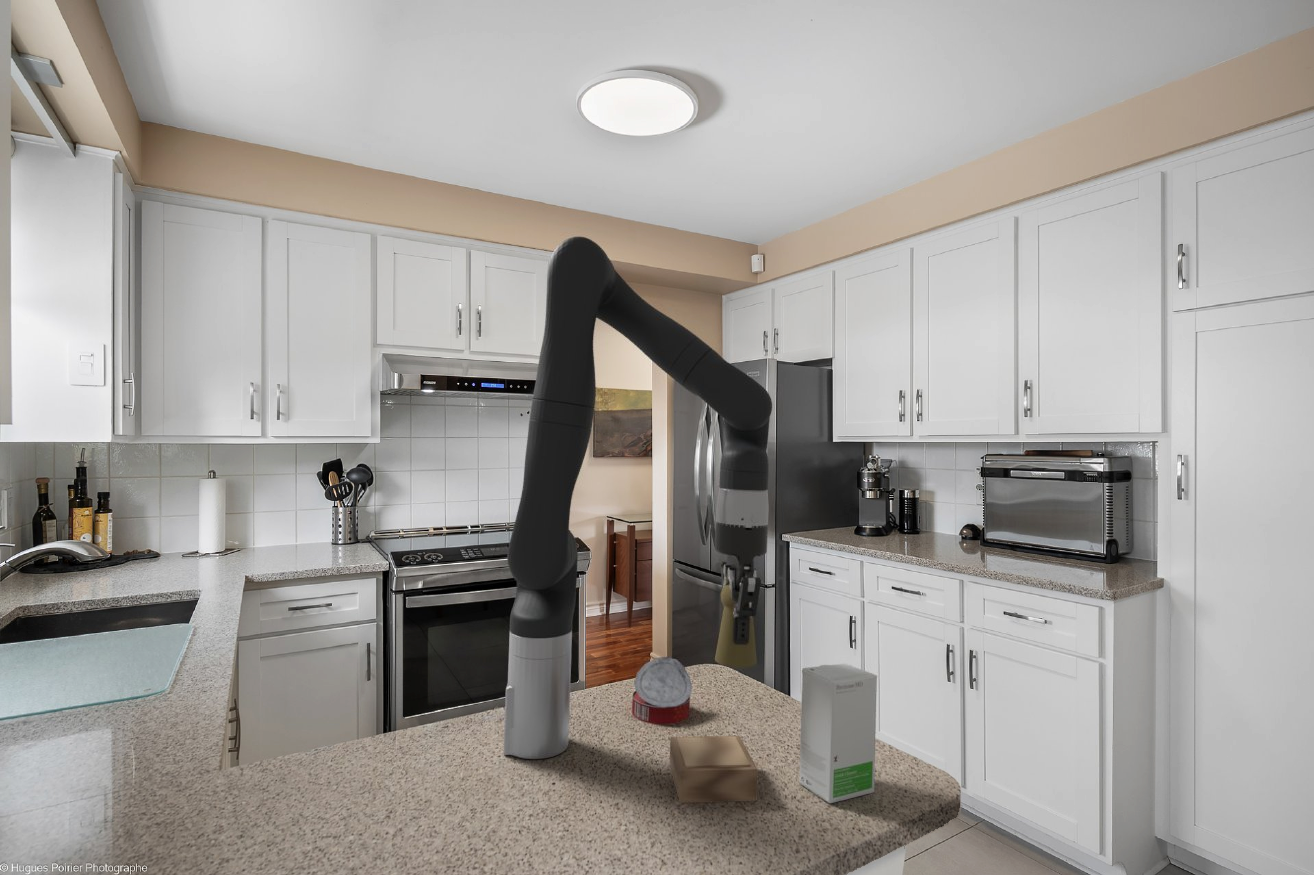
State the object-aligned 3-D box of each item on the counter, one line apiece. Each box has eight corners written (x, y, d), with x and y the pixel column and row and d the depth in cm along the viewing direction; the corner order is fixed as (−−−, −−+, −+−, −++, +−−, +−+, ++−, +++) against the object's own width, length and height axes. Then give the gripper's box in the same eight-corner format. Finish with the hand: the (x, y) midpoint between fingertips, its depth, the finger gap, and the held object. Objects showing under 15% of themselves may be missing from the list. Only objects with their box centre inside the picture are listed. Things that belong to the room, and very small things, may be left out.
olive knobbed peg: (756, 669, 93) (759, 590, 93) (712, 665, 94) (716, 587, 94) (757, 656, 99) (760, 582, 99) (716, 652, 100) (720, 579, 100)
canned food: (686, 736, 116) (714, 689, 114) (655, 750, 107) (685, 700, 106) (642, 691, 122) (668, 647, 120) (609, 701, 114) (636, 654, 112)
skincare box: (828, 806, 85) (832, 683, 85) (795, 782, 91) (798, 667, 91) (877, 792, 89) (879, 674, 89) (842, 770, 95) (844, 660, 95)
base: (679, 802, 85) (680, 769, 85) (669, 765, 95) (670, 735, 95) (756, 800, 86) (757, 767, 86) (738, 764, 96) (739, 734, 96)
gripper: (706, 514, 103) (701, 625, 103) (728, 525, 89) (722, 654, 89) (753, 516, 104) (748, 626, 104) (782, 527, 90) (776, 654, 90)
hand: (736, 638), depth 97 cm, fingers closed on olive knobbed peg, 4 cm apart
